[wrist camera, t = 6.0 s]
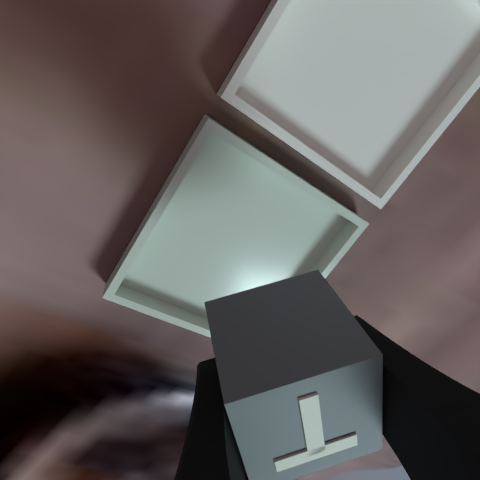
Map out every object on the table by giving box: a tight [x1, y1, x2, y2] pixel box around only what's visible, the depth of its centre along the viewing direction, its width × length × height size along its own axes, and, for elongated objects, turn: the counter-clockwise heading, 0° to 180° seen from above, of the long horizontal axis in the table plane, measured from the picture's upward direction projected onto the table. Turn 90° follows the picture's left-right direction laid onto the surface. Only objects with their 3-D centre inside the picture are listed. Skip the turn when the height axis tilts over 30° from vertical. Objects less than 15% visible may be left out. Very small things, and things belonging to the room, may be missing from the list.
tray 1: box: [216, 0, 480, 209], centre depth 15 cm, size 10×10×1 cm
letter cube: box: [204, 270, 383, 480], centre depth 11 cm, size 4×4×4 cm
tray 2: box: [102, 114, 369, 338], centre depth 18 cm, size 10×10×1 cm
